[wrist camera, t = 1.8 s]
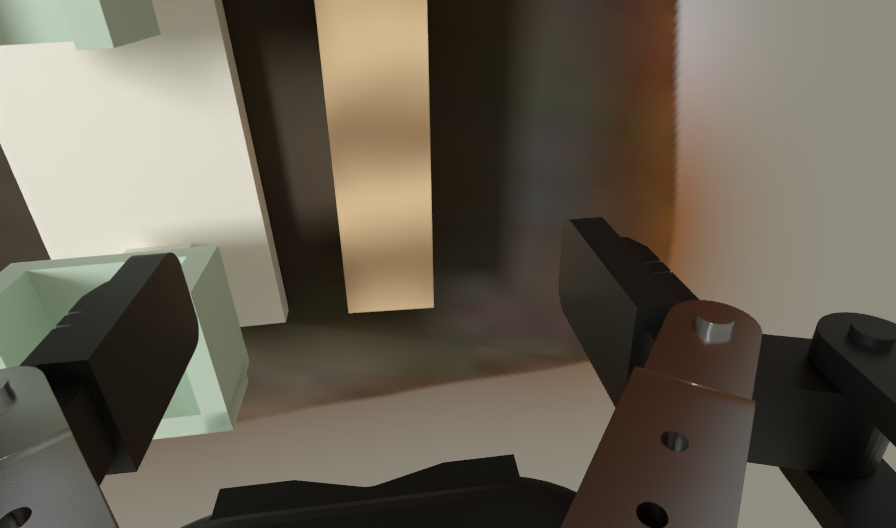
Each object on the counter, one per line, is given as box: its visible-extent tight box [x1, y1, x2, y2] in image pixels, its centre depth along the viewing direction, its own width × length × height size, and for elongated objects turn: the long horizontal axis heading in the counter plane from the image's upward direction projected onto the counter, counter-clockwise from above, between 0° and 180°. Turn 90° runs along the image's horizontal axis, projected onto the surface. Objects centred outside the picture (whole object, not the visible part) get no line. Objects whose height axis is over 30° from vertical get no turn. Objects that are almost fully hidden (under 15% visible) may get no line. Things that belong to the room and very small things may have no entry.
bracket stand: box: [0, 0, 289, 440], centre depth 21 cm, size 21×10×9 cm, turn 3°
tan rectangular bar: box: [314, 0, 434, 313], centre depth 24 cm, size 17×4×4 cm, turn 0°
